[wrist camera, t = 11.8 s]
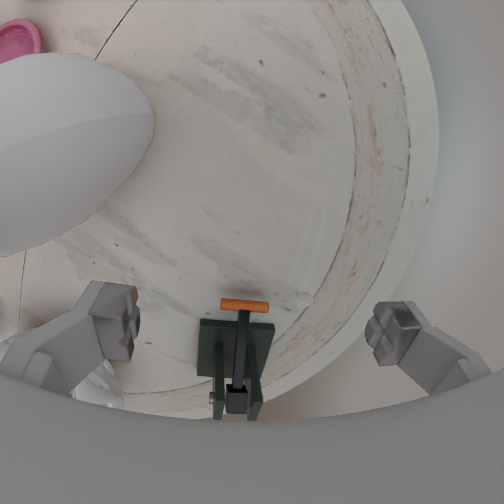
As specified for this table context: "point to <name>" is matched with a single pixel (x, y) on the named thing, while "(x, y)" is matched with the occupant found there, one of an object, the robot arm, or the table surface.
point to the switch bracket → (222, 360)
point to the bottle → (64, 143)
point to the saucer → (19, 39)
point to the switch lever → (240, 352)
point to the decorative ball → (88, 381)
